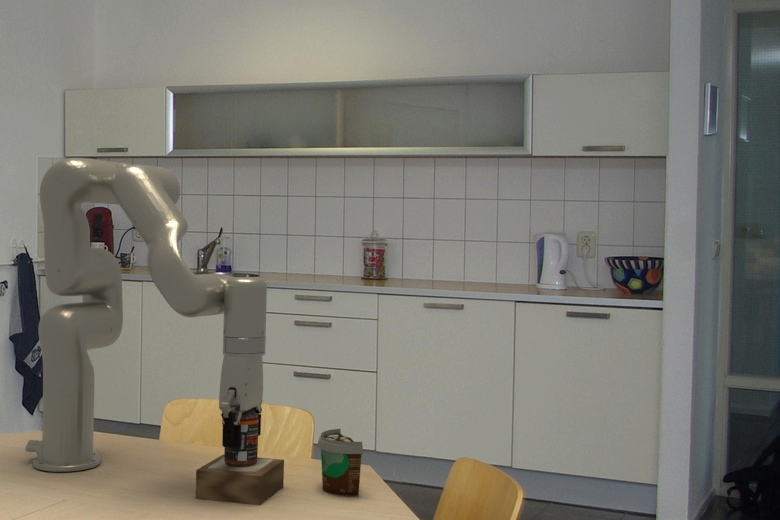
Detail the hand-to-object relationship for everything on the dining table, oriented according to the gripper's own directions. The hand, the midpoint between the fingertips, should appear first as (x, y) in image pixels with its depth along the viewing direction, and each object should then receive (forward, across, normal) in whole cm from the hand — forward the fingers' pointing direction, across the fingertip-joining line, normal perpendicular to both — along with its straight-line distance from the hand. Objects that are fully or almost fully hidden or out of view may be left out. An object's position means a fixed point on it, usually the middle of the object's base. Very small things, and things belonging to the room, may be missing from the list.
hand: (241, 441), depth 168 cm
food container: (+10, -7, +15) cm, 19 cm away
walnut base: (+9, 0, 0) cm, 9 cm away
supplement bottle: (+4, 0, 0) cm, 4 cm away
